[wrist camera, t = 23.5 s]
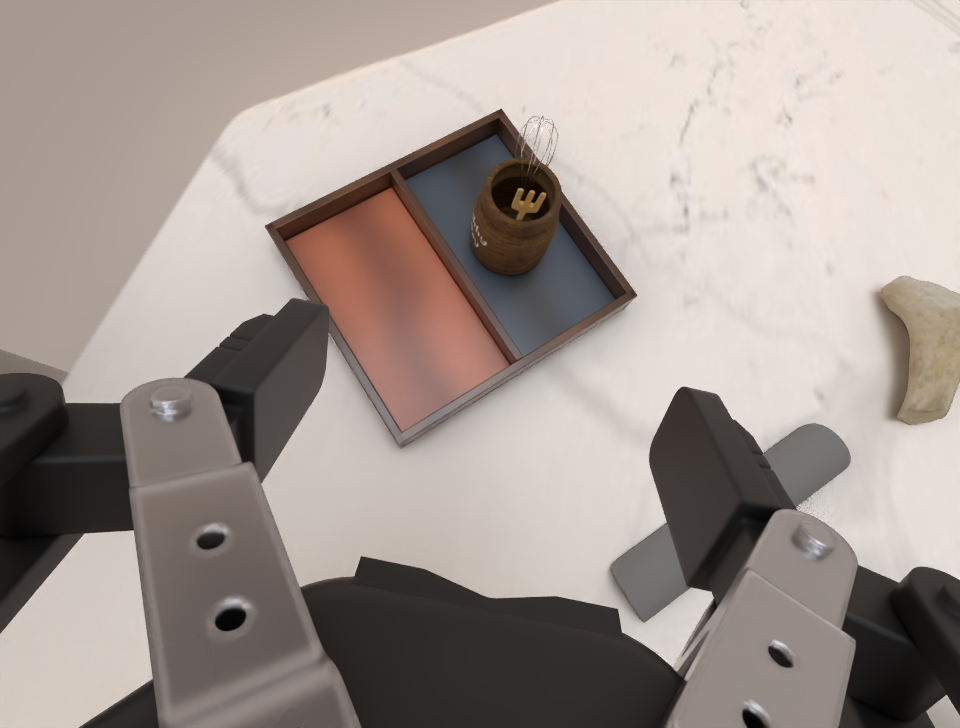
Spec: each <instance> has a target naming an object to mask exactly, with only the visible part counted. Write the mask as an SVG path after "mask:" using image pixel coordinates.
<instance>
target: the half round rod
mask: <svg viewBox="0 0 960 728" xmlns="http://www.w3.org/2000/svg"><path fill="white" fill-rule="evenodd" d="M762 456H765V457H766V459H767V461H768V462H769V464H770V466H771V470H773V471H774V472H775V474H776V476H777V477H778V479H779V481H780V482H781V484H782V486H783V487H784V489H785V491H786V492H787V494H788V496H789V497H790V499H791V501H792V502H793V504H794V506H795V507H797V506H798V505H799V504H801V503H802V502H803V501H805V500H806V499H807V498H808V497H810V496H811V495H812V494H814V493H815V492H816V491H818V490H819V489H820V488H822V487H823V486H824V485H825V484H827V483H828V482H829V481H831V480H832V479H833V478H835V477H836V476H837V475H839V474H840V473H841V472H842V471H844V470H845V469H846V468H847V467H848V465H849V464H850V458H851V456H850V453H849V450H848V448H847V446H846V445H845V443H844V442H843V441H842V439H841V438H840V437H839V436H838V435H837V434H836V433H834V432H833V431H832V430H830V429H829V428H827V427H825V426H823V425H819V424H815V423H814V424H808V425H805V426H802V427H800V428H798V429H797V430H796V431H794V432H793V433H791V434H790V435H789V436H787V437H786V438H784V439H783V440H782V441H780V442H779V443H778V444H776V445H775V446H773V447H772V448H771V449H769V450H768V451H766V452H765V453H764V454H762ZM612 573H613V576H614V578H615V580H616V582H617V583H618V585H619V587H620V588H621V590H622V591H623V593H624V594H625V596H626V598H627V599H628V601H629V602H630V604H631V606H632V607H633V609H634V610H635V612H636V613H637V615H638V617H639V618H640V619H641V620H642V621H643V622H646V621H647V620H649V619H650V618H651V617H653V616H654V615H655V614H656V613H658V612H659V611H660V610H662V609H663V608H664V607H666V606H667V605H668V604H670V603H671V602H672V601H674V600H675V599H676V598H677V597H679V596H680V595H681V594H683V593H684V592H685V591H687V590H688V589H689V588H691V587H687V586H686V583H685V580H684V576H683V573H682V570H681V566H680V563H679V560H678V557H677V553H676V550H675V547H674V543H673V540H672V537H671V534H670V530H669V527H668V524H665V525H664V526H663V527H661V528H660V529H658V530H657V531H656V532H654V533H653V534H651V535H650V536H649V537H647V538H646V539H645V540H643V541H642V542H640V543H639V544H638V545H636V546H635V547H633V548H632V549H631V550H629V551H628V552H627V553H625V554H624V555H622V556H621V557H620V558H618V559H617V560H616V561H615V563H614V564H613V566H612Z"/></svg>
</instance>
